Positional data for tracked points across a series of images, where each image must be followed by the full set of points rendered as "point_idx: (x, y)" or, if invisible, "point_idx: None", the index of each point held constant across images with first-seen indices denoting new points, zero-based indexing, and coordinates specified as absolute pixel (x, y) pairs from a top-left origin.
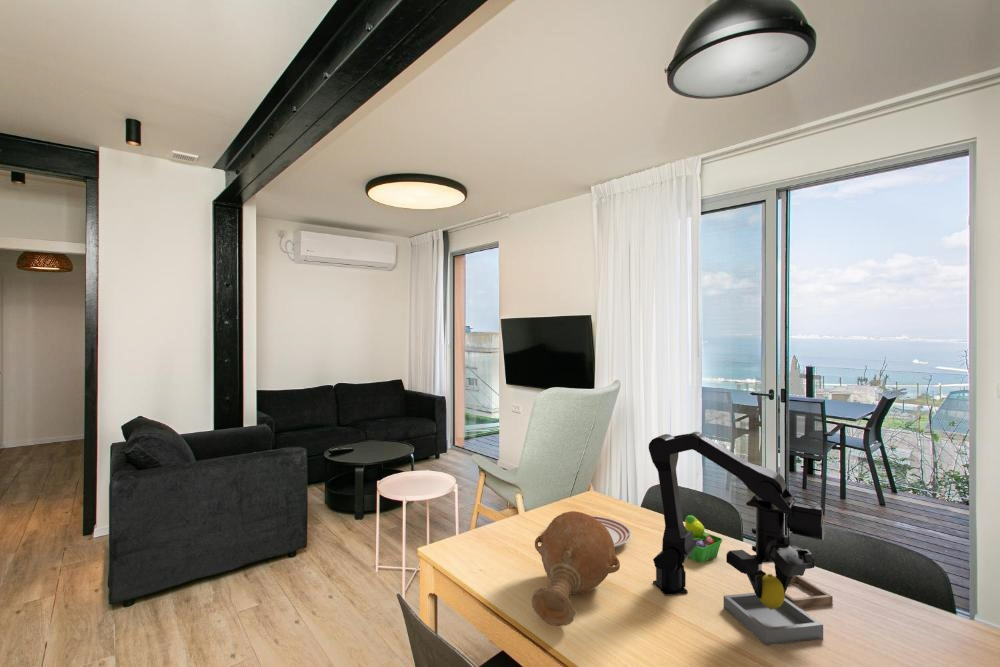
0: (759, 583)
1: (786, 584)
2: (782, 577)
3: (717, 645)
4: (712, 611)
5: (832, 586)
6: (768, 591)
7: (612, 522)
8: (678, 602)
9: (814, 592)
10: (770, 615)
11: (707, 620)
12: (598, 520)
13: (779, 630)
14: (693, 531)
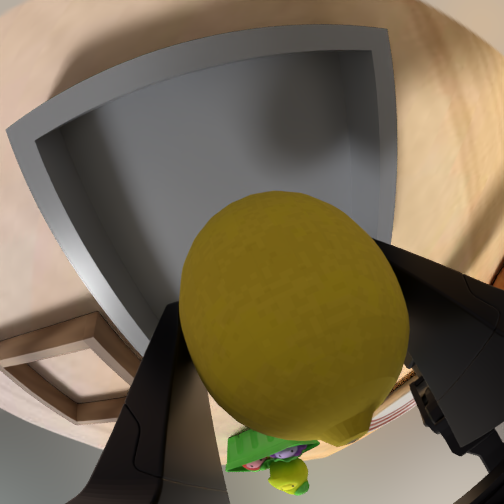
0: (472, 290)
1: (155, 386)
2: (191, 447)
3: (464, 75)
4: (398, 238)
5: (11, 394)
6: (380, 255)
7: None
8: (437, 262)
9: (36, 379)
10: None
11: (434, 189)
12: (375, 424)
13: (313, 25)
14: (299, 469)
